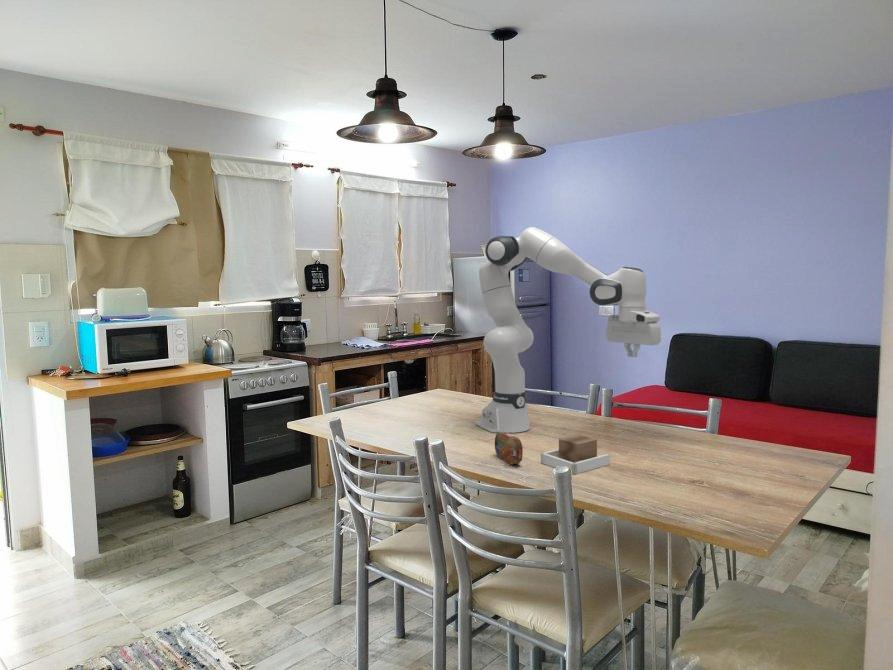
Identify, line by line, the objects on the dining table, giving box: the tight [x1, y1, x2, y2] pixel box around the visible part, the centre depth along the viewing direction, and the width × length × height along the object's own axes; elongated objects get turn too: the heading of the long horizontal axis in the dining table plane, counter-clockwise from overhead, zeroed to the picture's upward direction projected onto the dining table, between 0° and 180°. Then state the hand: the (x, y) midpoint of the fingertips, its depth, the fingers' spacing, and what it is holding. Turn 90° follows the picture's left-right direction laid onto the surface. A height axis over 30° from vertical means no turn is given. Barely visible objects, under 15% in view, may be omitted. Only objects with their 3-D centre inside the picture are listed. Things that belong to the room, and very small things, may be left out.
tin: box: [494, 432, 524, 465], centre depth 186 cm, size 15×3×8 cm, turn 21°
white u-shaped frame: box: [540, 448, 611, 475], centre depth 182 cm, size 14×15×3 cm
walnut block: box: [558, 434, 598, 463], centre depth 182 cm, size 8×8×8 cm
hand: (632, 356), depth 201 cm, fingers closed
